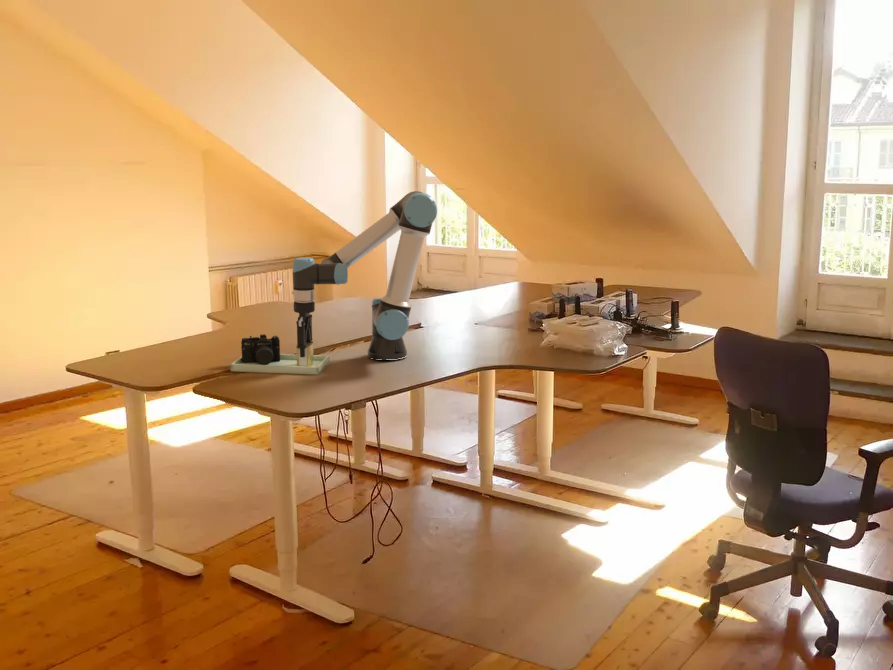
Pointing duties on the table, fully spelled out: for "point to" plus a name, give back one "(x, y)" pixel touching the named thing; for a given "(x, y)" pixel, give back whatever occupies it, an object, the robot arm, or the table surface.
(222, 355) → the table surface
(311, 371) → the tray
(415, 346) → the table surface
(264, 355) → the camera
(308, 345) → the brass block
